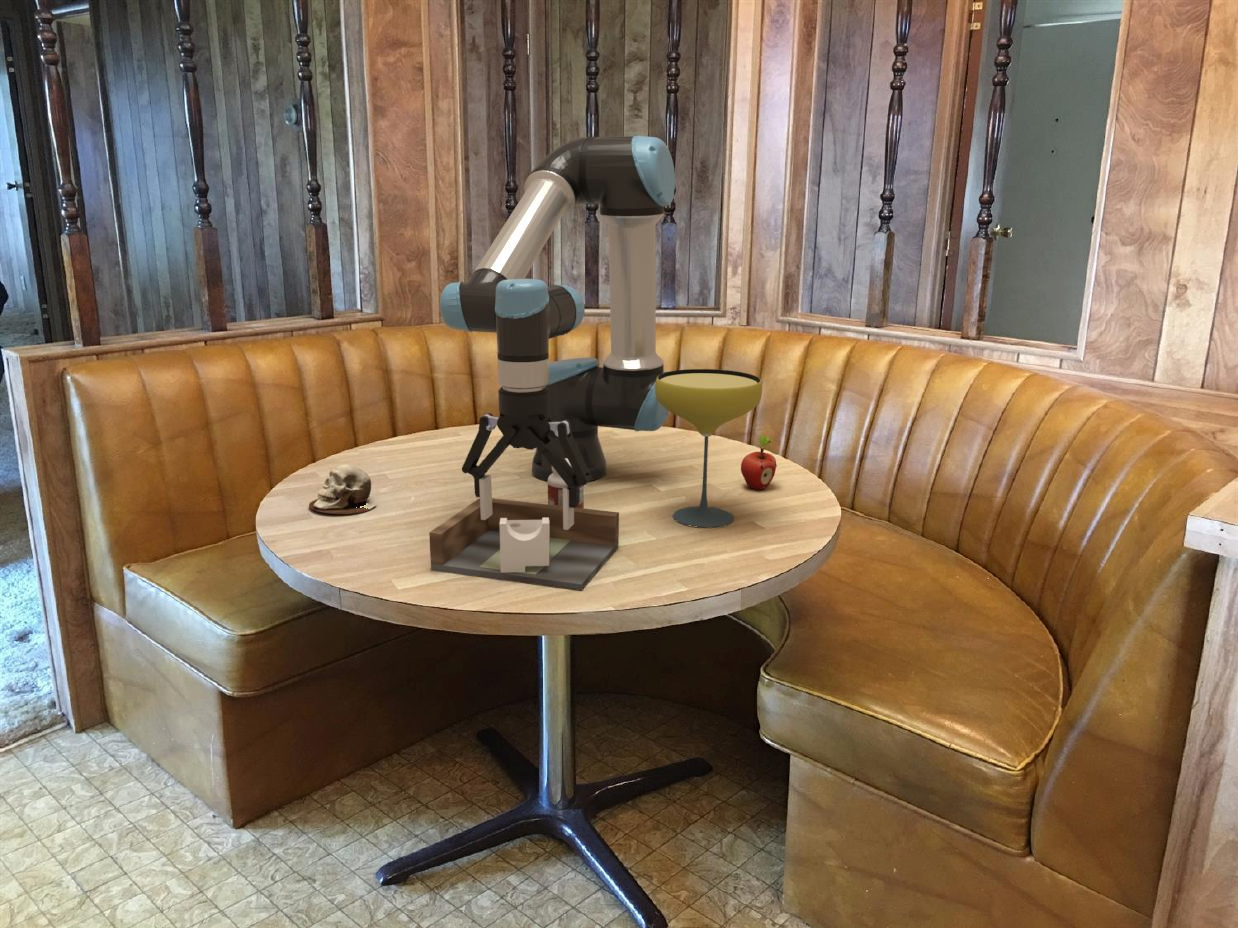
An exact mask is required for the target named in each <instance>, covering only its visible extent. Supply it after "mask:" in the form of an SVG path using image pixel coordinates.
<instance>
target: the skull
mask: <svg viewBox="0 0 1238 928" xmlns="http://www.w3.org/2000/svg"><path fill="white" fill-rule="evenodd" d="M328 473H329V477H327V478H326V479H325V481H324V483H323V485H322V487H321V489H320V490H319V491H318V492H317V498H316V499H314V500H311V501H310V502H309V504H308V507H309V508H310V509H311V510H312V511H315V512H317V513H326V514H332V515H333V514H335V515H341V516H342V515H354V514H360V513H365V511H367V512H369V511H368V510H369V509H368V508H367V509H366V508H364V507H362V508H360V506H364V505H366V503H368V502H367V501H368V500H369V497H370V495H371V491H372V481H371V476H369V474H368V473H367V472H366V471H364V470H363V469H362V468H359V466H355V465H353V464H349V463H344V464H340V465H338V466H335V467H334V468H333V469H331V470H330V471H329V472H328ZM356 507H357V508H356Z"/></svg>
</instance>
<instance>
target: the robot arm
mask: <svg viewBox="0 0 1238 928" xmlns="http://www.w3.org/2000/svg"><path fill="white" fill-rule="evenodd" d="M673 161H674V160H673V158H672V155H671V152H670V149H669V147H668V146H667V145H666V143H665V142H664V141H663V140H662V139H661V138H659V137H655V136H645V135H644V136H643V135H638V134H637V135H633V136H628V135H627V136H581V137H577V138H574V139H571V140H569V141H566V142H565V143H563V144H561V145H559V146H558V147H556V148H555V149H554V150H552V151H551V152H550V153H548V154H547V155H546V156H545V157H544V158H542V160H540V161H539V162H538V163H537V165H536V166H534V168H533V169H532V171H531V172H530V174H529V175H528V177H527V178H526V180H525V182H524V186H523V187H524V189H523V191H524V194H523V195H522V197H521V198H520V200H518V201H519V202H518V203H517V205H516V206H515V208H514V209H513V211H512V212H511V214H510V216H509V217H508V218H507V220H506V222H505V223H504V225H503V226H502V228H501V229H500V231H499V233H498V234H497V236H496V237H495V238H494V240H493V242H492V244H491V245H490V246H489V248H488V249H487V250H486V253H485V254H484V256H483V257H482V259H481V260H480V261H479V263H478V264H477V267H476V268H475V270H474V271H473V272H472V274H471V275H470V277H469V279H468V280H467V281H466V282H464V281H462V280H461V281H459V282H450V283H449V284H447V285H446V286H445V287H444V288H443V290H442V292H441V295H440V299H439V310H440V316H441V317H442V319H443V322H444V324H445V325H446V326H447V327H449V328H450V329H453V330H457V331H458V330H459V331H464V332H465V331H466V332H470V333H471V332H475V333H494V334H495V333H496V347H497V351H496V353H497V384H498V385H499V386H500V388H498V391H497V392H498V411H499V416H494V415H493V414H492V413H486V414H484V415H483V416H481V417H480V418H479V422H478V432H477V433H476V436H475V438H474V440H473V443H472V445H471V447H470V449H469V451H468V454H467V456H466V458H465V460H464V462H463V464H462V467H461V471H462V473H463V474H468V475H471V476H472V477H473V479H474V480H473V483H474V496H475V498H480V512H481V520H486V519H487V518H489V517H490V516H491V515H492V514H493V513H492V498H493V493H492V492H493V489H492V474H487V473H488V471H489V470H490V469H491V467H492V466H493V465H494V464H495V463H496V461H497V460H499V458H500V457H501V456H502V454H503V453H504V452H505V450H507V449H508V447H509V446H511V447H512V448H513V449H522V448H523V449H526V450H530V451H531V450H535V452H534V455H533V458H532V462H531V472H532V473H531V474H532V475H533V476H534V477H535V478H537V479H540V480H543V481H546V482H548V477H549V476H550V475H551V474H552V473H553V471H552V466H553V468H554V469H555V470H556V472H557V473H558V474H559V475H560V477H561V478H562V479H563V480H564V482H565V483H566V484H567V485H566V486H565V487H564V488H563V529H564V530H568V529H569V528H570V527H571V526H572V525H573V524H574V508H576V507H577V506H578V505H579V502H580V486H581V485H584V486H586V485H587V484H588V483H589V482H590V481H591V482H592V481H595V480H598V479H601V478H603V477H605V476H606V474H607V460H606V458H605V454H604V451H603V447H602V444H601V441H600V439H599V427H601V428H611V429H621V430H629V431H634V432H641V431H642V432H655V431H658V430H659V429H660V428H661V427H663V425H664V424H665V422H666V421H667V418H668V415H669V413H670V411H669V410H667V409H666V408H665V407H663V406H662V405H661V404H660V403H659V401H658V400H657V398H656V394H655V383H656V379H657V376H658V375H660V374H662V373H665V372H666V371H665V370H664V369H665V368H664V363H665V362H664V359H663V358H662V357H661V356H659V354H657V351H656V350H657V348H656V347H657V344H656V343H657V341H656V340H657V337H656V334H657V330H656V322H657V320H656V317H657V315H656V314H657V313H656V311H657V310H656V306H657V305H656V302H657V301H656V300H657V299H656V297H657V296H656V293H657V290H656V287H657V286H656V282H657V281H656V277H657V275H656V273H657V272H656V266H657V265H656V264H657V263H656V262H657V261H656V254H657V253H656V225H657V224H658V222H659V221H660V220H661V219H662V218H663V217H664V216H665V212H664V211H665V207H666V206H669V205H671V203H672V202H673V200H674V198H675V190H676V173H675V166H674V162H673ZM585 204H587V205H589V204H590V205H599V215H600V218H602V219H603V221H604V222H605V223H606V224H607V225H608V260H609V261H608V264H609V266H608V267H609V269H608V270H609V274H608V275H609V312H610V316H609V318H610V319H609V321H610V323H609V324H610V327H609V328H610V354H608V356H607V357H605V359H604V360H603V362H602V364H603V365H602V366H601V367H600V362H599V360H598V359H597V358H594V357H575V358H567V359H560V360H557V361H556V360H555V361H552V362H550V359H549V357H550V355H549V353H550V352H549V349H550V348H549V347H550V346H549V341H550V340H549V339H552V338H557V337H560V336H565V335H568V334H569V333H570V332H571V331H573V330H575V329H577V328H578V327H579V326H580V324H581V323H582V321H583V319H584V316H585V312H586V311H585V310H586V309H585V303H584V300H583V298H582V296H581V294H580V293H579V291H578V290H576V289H575V288H574V287H572V286H569V285H565V284H552V285H550V286H548V285H547V284H546V282H545V281H544V280H542V279H537V278H526V277H527V275H528V274H529V272H530V270H531V268H532V266H533V265H534V263H535V262H536V260H537V259H538V257H539V255H540V254H541V251H542V250H543V248H544V246H545V245H546V243H547V241H549V239H550V237H551V235H552V233H553V231H554V230H555V228H556V227H557V225H558V223H559V222H560V220H561V218H564V217H567V216H568V215H569V214H570V213H571V212H572V211H573V210H574V208H575V207H576V206H580V205H585ZM496 427H497V428H498V430H499V431H500V432H501V434H502V436H501V438H500V439H499V440H498V441H497V442H496V444H495V446H494V447H493V448H492V449H491V450H490V452H488V454H487V455H486V456H485V457H484V459H482V461H481V462H480V463H479V460H480V458H481V456H482V453H483V452H484V449H485V447H486V446H487V443H488V440H489V439H490V436H491V434H492V431H493V430H494V429H496ZM565 458H567V459H568V460H569V462H570V464H571V466H570V465H569V463H568V462H567V461H566V460H565ZM478 463H479V465H478Z"/></svg>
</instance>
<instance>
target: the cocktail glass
mask: <svg viewBox="0 0 1238 928" xmlns="http://www.w3.org/2000/svg"><path fill="white" fill-rule="evenodd" d="M664 372H665V373H662V374H660V375H658V376H657V379H656V383H655V394H656V398H657V400H658V401H659V403H660V404H661V405H662V406H663V407H665V408H666V409H667V410H669V413H672V414H674V415H676V416H678V417H680V418H681V419H684V420H685V421H687V422H689V423H690V424H692V425H693V426H694V427H695V429H696V430H697V431H698V433H699V434H700V435H701V436H702V437H704V443H703V445H704V448H703V469H702V471H703V473H702V490H701V497H700V503H699V505H698V506H697V505H695V506H687V507H683V508H679V509H677V510H675V511H674V512H673V513H672V518H673V520H674V521H675V520H677V521H678V522H680V523H679V524H681V523H682V524H681V525H683V524H684V526H687V525H691V526H697V527H696V528H698V527H716V528H721V527H720V526H722V527H725V526H724V525H726V526H728V525H730V524H731V522H732V521H734V520H735V516H734V514H733V513H731V512H730V511H728V510H726V509H723V508H719V507H714V506H709V505H708V497H707V496H708V492H707V490H708V489H707V488H708V487H707V486H708V484H707V482H708V481H707V480H708V453H709V451H708V450H709V437H712V436H713V435H714V434H715V433H716V431H717V430H718V429H719V428H720V427H721V426H722V425H725V424H726V423H728V422H730V421H732V420H735V419H737V418H740V417H742V416H744V415H746V414H748V413H750V412H751V411H752V410H754V409H755V408H756V407H757V406H758V405H759V404H760V403H761V399H762V394H763V382H762V380H761V378H760V377H758V376H757V375H753V374H751V373H747V372H743V371H736V370H727V369H713V368H691V369H689V368H688V369H677V370H670V371H664ZM677 521H676V522H677ZM678 522H677V523H678ZM732 523H733V522H732ZM691 526H690V527H691Z"/></svg>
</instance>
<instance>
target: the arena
mask: <svg viewBox="0 0 1238 928" xmlns="http://www.w3.org/2000/svg"><path fill="white" fill-rule="evenodd" d="M492 513H493V514H492V515H491V516H490V517H489V518H487V519H486V520H481V512H480V497H478V499H476V500H475V501H473V502H472V503H470V504H469V505H467V506H466V507H464V508H463V509H461V510H460V511H459V512H457V513H455V515H453V516H451V517H450V518H449V519H447V520H445V521H444V522H443V523H441V524H439V525H438V526H436V527H435V528H433V529H432V530H431V531H429V533H428V534H429V557H430V558H429V559H430V570H431V571H436V572H443V573H450V572H452V573H451V574H457V575H466V576H470V577H471V576H472V577H480V578H487V579H495V580H501V581H502V580H503V581H509V582H515V583H516V582H517V583H521V584H522V583H523V584H531V585H536V586H543V587H551V588H552V587H553V588H559V589H567V590H573V591H580V592H581V591H582V592H583V590H584V589H585V587H587V585H588V583H590V582H591V580H592V579H593V578H594V577H595V575H596V574H597V573H598V572H599V571H600V570H601V569H602V567H603V566H605V564H606V563H607V561H609V560H610V558H611V557H612V556H613V555H614V553H616V552H617V550H618V549H619V548H620V547H619V546H620V544H619V543H620V542H619V537H620V531H619V530H620V512H617V511H609V510H602V509H601V510H599V509H590V508H574V524H573V525H572V526H571V527H570V528H569V529H568V530H564V529H563V506H558V505H549V504H548V503H540V502H529V501H521V500H514V499H512V500H511V499H503V498H495V497H494V498H493V497H492ZM548 517H549V524H550V542H549V566H525V572H506V573H501V561H500V518H507V520H542V518H548Z"/></svg>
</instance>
